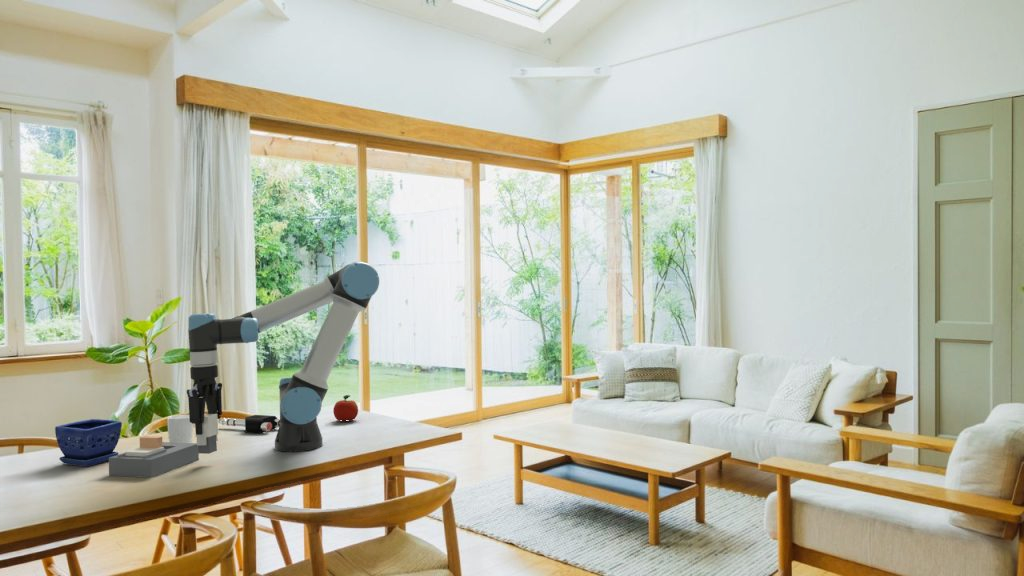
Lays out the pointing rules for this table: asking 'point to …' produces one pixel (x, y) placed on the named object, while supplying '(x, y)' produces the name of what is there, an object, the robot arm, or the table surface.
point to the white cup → (180, 429)
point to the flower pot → (88, 441)
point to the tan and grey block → (146, 446)
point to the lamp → (254, 423)
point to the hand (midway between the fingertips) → (207, 442)
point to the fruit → (345, 409)
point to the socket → (154, 460)
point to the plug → (209, 434)
